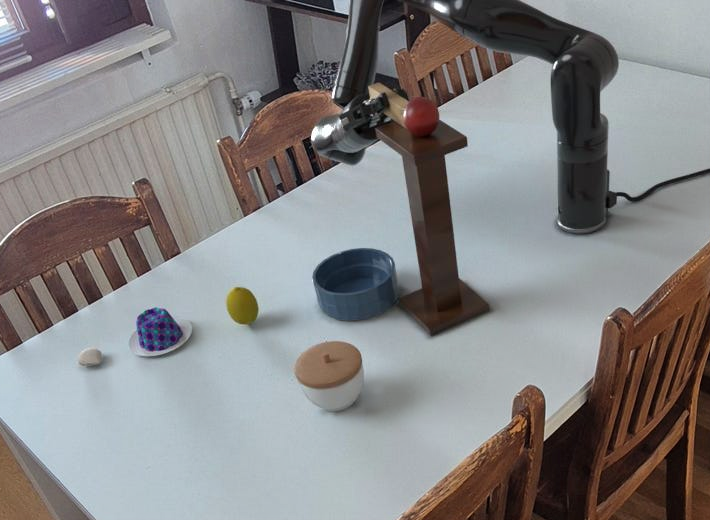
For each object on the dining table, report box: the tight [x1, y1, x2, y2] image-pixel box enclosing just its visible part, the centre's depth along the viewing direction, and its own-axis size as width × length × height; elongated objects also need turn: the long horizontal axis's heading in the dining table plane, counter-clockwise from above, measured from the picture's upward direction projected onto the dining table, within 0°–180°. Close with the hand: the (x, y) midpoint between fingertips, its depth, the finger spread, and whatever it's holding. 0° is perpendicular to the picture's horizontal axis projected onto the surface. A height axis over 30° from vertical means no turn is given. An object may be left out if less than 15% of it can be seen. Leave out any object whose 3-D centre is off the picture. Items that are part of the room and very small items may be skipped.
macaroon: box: [76, 347, 103, 367], centre depth 147 cm, size 4×5×2 cm
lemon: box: [225, 286, 259, 326], centre depth 148 cm, size 6×6×8 cm
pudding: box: [127, 307, 193, 357], centre depth 149 cm, size 12×12×5 cm
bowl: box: [311, 247, 400, 321], centre depth 150 cm, size 15×15×6 cm
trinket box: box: [293, 340, 365, 412], centre depth 129 cm, size 11×11×9 cm
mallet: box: [368, 82, 440, 137], centre depth 125 cm, size 19×5×5 cm, turn 28°
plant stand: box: [375, 118, 490, 337], centre depth 135 cm, size 13×12×32 cm
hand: (393, 96), depth 126 cm, fingers closed on mallet
